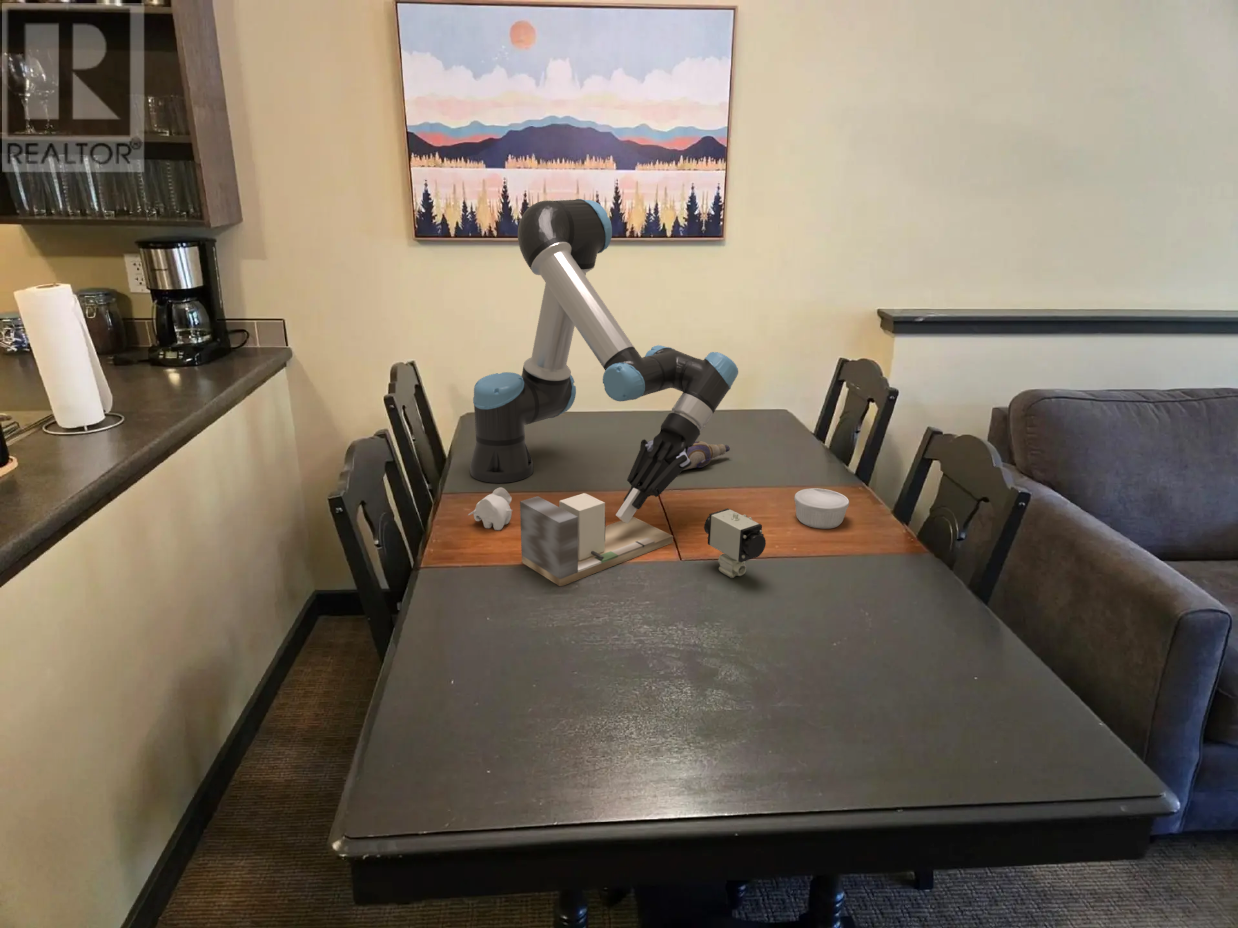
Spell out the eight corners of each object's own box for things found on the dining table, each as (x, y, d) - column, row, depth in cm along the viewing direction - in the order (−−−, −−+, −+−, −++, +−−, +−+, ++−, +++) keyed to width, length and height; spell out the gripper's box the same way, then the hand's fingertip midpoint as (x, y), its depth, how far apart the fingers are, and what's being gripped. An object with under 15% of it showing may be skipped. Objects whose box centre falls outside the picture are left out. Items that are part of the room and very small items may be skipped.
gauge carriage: (553, 551, 153) (552, 502, 149) (587, 539, 158) (587, 492, 154) (583, 568, 146) (583, 518, 143) (617, 555, 151) (617, 506, 148)
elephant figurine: (480, 513, 173) (479, 483, 170) (521, 520, 170) (520, 489, 167) (462, 528, 166) (460, 496, 164) (504, 535, 163) (503, 503, 161)
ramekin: (850, 515, 175) (853, 493, 173) (841, 535, 166) (844, 512, 164) (799, 506, 179) (801, 484, 178) (787, 525, 170) (789, 502, 168)
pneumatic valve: (744, 589, 144) (749, 528, 140) (701, 563, 153) (704, 505, 149) (766, 580, 147) (771, 520, 143) (722, 556, 156) (726, 499, 152)
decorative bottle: (653, 482, 191) (654, 456, 189) (636, 473, 197) (636, 447, 195) (738, 464, 204) (740, 439, 202) (720, 455, 210) (721, 430, 208)
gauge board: (521, 562, 152) (519, 501, 148) (632, 522, 170) (633, 467, 165) (560, 586, 144) (559, 522, 139) (672, 542, 161) (675, 484, 157)
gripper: (717, 440, 160) (653, 539, 156) (672, 424, 169) (610, 517, 165) (700, 419, 155) (633, 521, 151) (654, 404, 164) (590, 500, 160)
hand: (621, 519), depth 158 cm, fingers closed
